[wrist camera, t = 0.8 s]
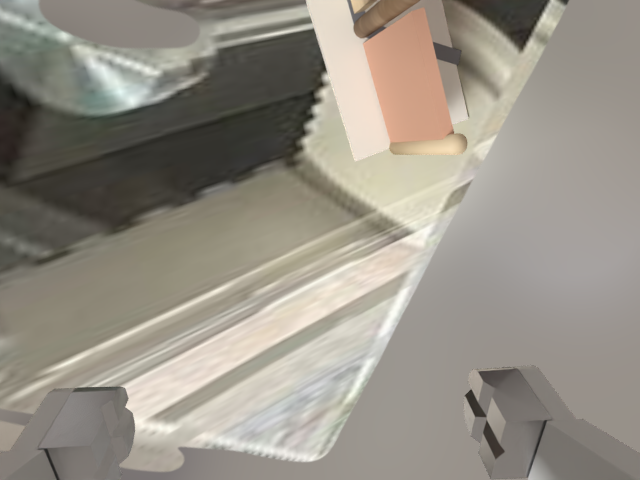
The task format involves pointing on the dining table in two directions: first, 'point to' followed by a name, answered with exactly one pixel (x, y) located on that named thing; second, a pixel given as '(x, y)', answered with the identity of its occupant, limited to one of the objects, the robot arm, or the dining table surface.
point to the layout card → (355, 77)
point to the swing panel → (412, 89)
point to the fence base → (377, 14)
